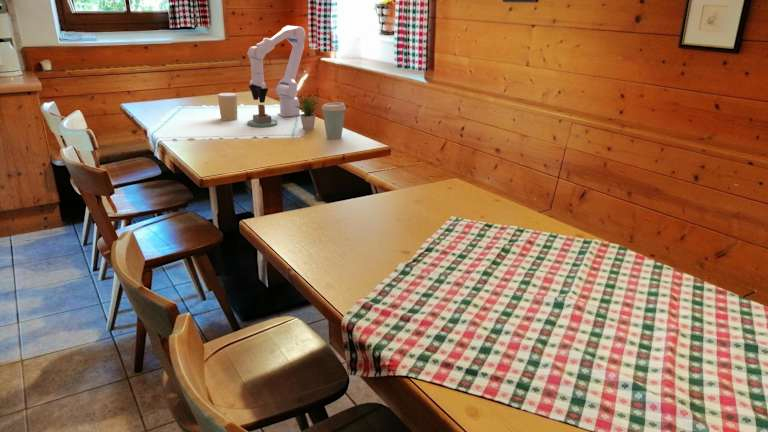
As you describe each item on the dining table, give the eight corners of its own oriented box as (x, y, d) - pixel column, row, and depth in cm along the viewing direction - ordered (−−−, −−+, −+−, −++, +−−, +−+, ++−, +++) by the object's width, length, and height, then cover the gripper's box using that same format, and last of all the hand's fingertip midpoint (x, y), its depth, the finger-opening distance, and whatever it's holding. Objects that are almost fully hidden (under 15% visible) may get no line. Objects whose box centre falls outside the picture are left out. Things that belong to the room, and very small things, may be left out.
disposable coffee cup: (324, 140, 244) (323, 106, 238) (320, 134, 254) (319, 101, 248) (348, 139, 247) (348, 105, 241) (343, 133, 256) (343, 100, 251)
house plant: (318, 133, 256) (317, 97, 249) (289, 131, 258) (287, 95, 252) (327, 126, 268) (326, 92, 262) (299, 124, 271) (298, 90, 265)
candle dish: (270, 119, 279) (269, 111, 277) (282, 125, 268) (281, 117, 267) (243, 122, 272) (242, 114, 270) (254, 128, 261) (253, 120, 259)
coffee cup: (241, 117, 282) (239, 93, 278) (235, 121, 274) (233, 96, 269) (223, 116, 283) (221, 92, 279) (216, 120, 274) (214, 95, 270)
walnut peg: (263, 120, 271) (263, 104, 268) (266, 122, 269) (265, 105, 266) (258, 121, 270) (257, 104, 267) (260, 122, 268) (259, 106, 265)
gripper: (243, 71, 272) (245, 99, 277) (255, 75, 261) (257, 104, 266) (257, 70, 276) (259, 98, 281) (269, 74, 265) (271, 103, 270)
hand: (259, 101), depth 274 cm, fingers open, 7 cm apart
